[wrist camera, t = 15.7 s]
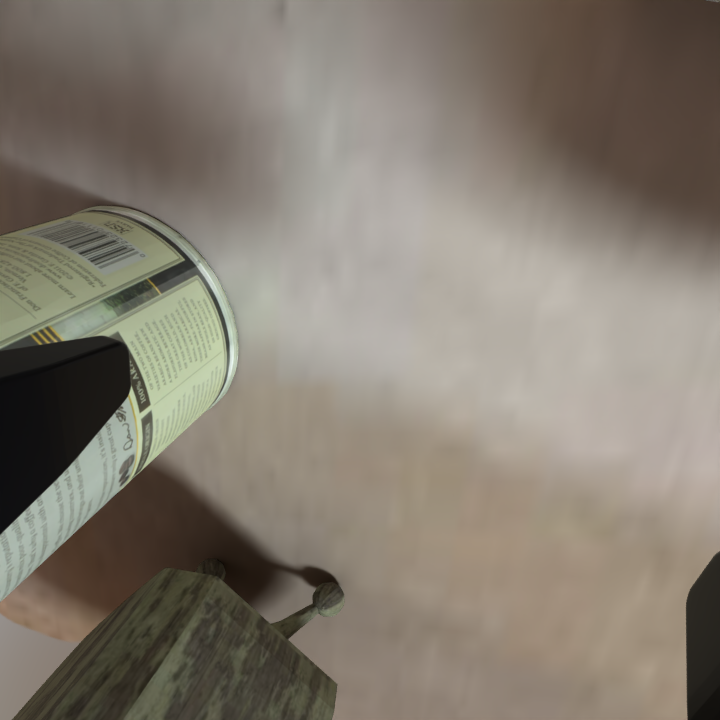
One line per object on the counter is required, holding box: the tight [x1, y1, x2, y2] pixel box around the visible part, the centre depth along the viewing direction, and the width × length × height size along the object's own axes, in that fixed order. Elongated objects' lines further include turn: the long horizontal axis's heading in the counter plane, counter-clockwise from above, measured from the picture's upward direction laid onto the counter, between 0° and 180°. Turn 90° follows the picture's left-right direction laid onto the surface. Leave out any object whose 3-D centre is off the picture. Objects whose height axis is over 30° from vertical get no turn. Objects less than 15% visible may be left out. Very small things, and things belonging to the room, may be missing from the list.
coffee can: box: [0, 206, 238, 602], centre depth 19 cm, size 10×10×14 cm
